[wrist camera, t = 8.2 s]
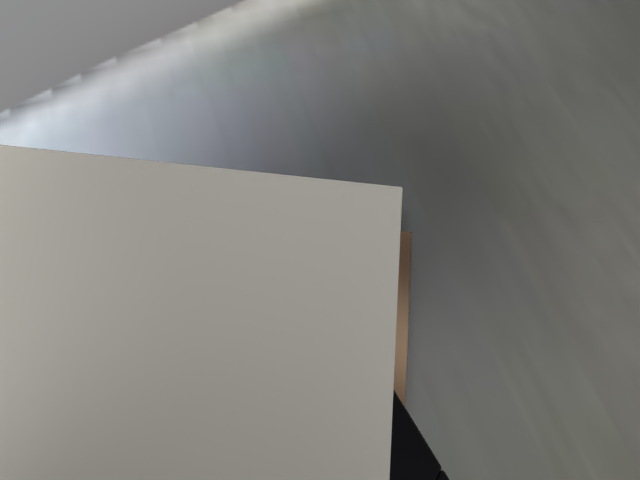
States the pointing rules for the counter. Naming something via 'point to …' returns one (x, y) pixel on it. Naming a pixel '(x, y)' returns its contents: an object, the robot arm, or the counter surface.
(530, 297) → the counter surface
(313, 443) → the block
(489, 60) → the counter surface
